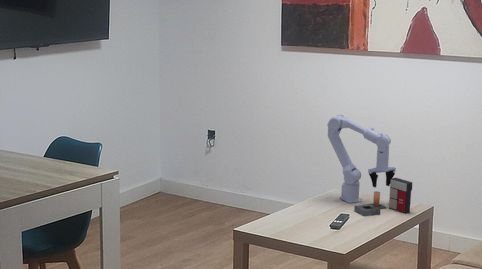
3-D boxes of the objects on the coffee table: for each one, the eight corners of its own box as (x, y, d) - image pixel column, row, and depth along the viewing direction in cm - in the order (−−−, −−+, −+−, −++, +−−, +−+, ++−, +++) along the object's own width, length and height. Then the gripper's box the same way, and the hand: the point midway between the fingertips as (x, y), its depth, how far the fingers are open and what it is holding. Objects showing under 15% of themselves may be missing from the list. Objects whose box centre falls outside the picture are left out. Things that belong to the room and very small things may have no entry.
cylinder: (371, 205, 382) (372, 191, 381) (377, 204, 383) (377, 191, 382) (375, 207, 379) (376, 193, 378) (380, 206, 381) (381, 192, 379)
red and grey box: (387, 208, 380) (389, 178, 377) (393, 206, 382) (395, 177, 379) (404, 213, 371) (406, 183, 368) (410, 212, 374) (412, 182, 371)
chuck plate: (354, 210, 375) (354, 205, 374) (370, 209, 378) (370, 204, 377) (363, 216, 366) (364, 211, 366) (380, 214, 370) (380, 209, 369)
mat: (365, 205, 384) (365, 204, 383) (378, 204, 386) (378, 203, 386) (373, 209, 377) (373, 208, 377) (386, 208, 379) (386, 207, 379)
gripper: (374, 162, 375) (372, 189, 377) (399, 160, 380) (398, 187, 383) (366, 159, 381) (365, 186, 384) (391, 157, 386) (390, 183, 389)
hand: (381, 186), depth 384 cm, fingers open, 7 cm apart
